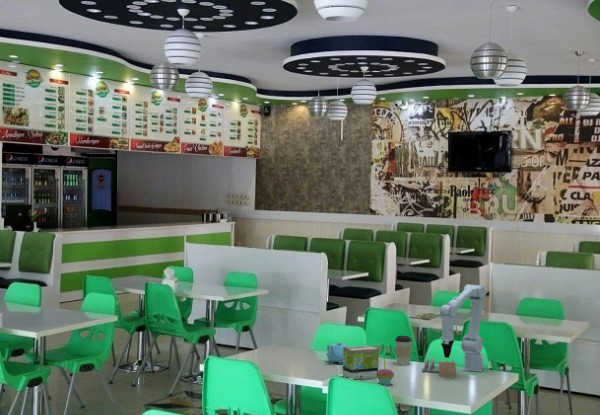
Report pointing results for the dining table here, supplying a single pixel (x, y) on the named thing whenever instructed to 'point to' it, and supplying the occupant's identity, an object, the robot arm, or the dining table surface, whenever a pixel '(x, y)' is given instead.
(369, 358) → the tea box
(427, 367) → the dish rack
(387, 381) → the cupcake
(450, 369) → the tall tan block
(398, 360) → the coffee cup
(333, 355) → the teapot
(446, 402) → the dining table surface
